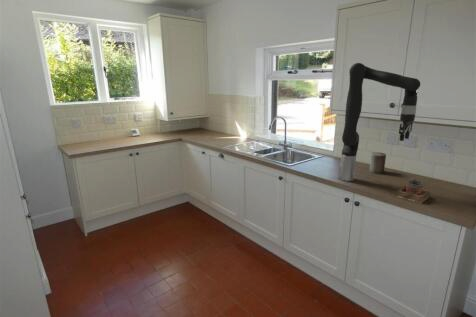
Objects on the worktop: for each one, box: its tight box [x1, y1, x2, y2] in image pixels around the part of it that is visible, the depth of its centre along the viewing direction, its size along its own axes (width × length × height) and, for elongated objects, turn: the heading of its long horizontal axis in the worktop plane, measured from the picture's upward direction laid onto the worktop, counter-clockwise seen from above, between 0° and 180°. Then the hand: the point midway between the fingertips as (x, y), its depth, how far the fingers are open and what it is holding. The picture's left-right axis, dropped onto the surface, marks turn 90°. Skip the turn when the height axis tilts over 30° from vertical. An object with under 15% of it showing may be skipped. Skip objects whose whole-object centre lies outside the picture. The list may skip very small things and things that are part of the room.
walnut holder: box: [396, 185, 431, 204], centre depth 166 cm, size 13×13×4 cm
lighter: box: [406, 178, 424, 196], centre depth 165 cm, size 8×3×10 cm, turn 45°
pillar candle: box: [369, 151, 387, 175], centre depth 209 cm, size 10×10×15 cm
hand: (404, 139), depth 175 cm, fingers open, 8 cm apart
